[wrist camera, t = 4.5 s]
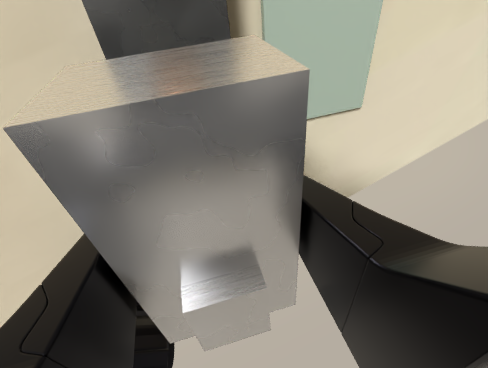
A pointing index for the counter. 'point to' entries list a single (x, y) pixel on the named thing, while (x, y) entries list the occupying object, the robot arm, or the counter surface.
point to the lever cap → (182, 177)
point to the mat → (326, 46)
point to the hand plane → (156, 24)
